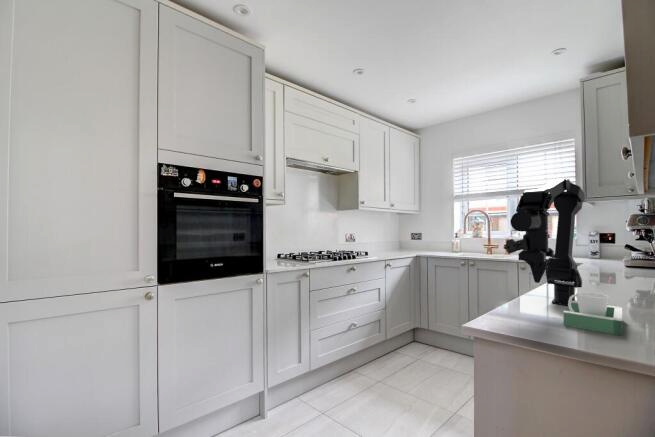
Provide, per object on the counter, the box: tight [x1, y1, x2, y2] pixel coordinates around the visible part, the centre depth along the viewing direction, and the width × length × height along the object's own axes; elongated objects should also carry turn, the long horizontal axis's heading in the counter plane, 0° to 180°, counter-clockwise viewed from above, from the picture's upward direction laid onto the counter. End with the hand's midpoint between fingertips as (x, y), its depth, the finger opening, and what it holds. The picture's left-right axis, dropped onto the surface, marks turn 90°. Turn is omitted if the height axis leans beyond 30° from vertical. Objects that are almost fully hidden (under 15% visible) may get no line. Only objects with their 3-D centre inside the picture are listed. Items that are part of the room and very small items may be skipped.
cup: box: [567, 291, 610, 317], centre depth 88 cm, size 7×10×8 cm
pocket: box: [563, 300, 623, 336], centre depth 88 cm, size 16×12×4 cm
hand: (537, 282), depth 97 cm, fingers closed
